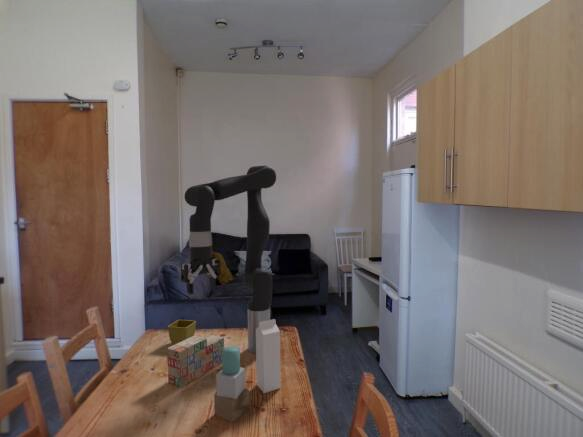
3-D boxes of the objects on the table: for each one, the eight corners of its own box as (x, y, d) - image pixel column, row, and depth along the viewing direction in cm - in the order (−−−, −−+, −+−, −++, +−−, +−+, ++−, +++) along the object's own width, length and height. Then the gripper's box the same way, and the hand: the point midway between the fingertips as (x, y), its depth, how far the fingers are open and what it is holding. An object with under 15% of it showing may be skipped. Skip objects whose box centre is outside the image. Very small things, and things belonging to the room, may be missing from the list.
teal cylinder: (230, 365, 102) (231, 345, 102) (243, 369, 99) (243, 348, 99) (218, 371, 98) (218, 350, 98) (231, 375, 95) (231, 353, 95)
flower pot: (197, 340, 150) (196, 320, 150) (186, 349, 142) (186, 327, 141) (179, 339, 152) (178, 319, 152) (167, 347, 144) (167, 326, 143)
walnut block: (231, 402, 104) (231, 382, 103) (249, 409, 100) (248, 389, 99) (214, 414, 98) (214, 393, 98) (232, 422, 94) (232, 401, 94)
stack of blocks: (212, 357, 134) (212, 326, 133) (224, 361, 130) (224, 329, 130) (167, 383, 115) (166, 347, 115) (180, 388, 112) (179, 351, 111)
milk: (280, 388, 111) (280, 321, 110) (263, 393, 108) (263, 325, 107) (272, 379, 116) (271, 316, 115) (256, 384, 113) (255, 319, 112)
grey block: (227, 384, 102) (227, 365, 102) (245, 387, 101) (245, 368, 100) (216, 395, 97) (216, 374, 96) (235, 399, 95) (235, 378, 95)
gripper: (211, 241, 124) (212, 285, 125) (175, 245, 114) (177, 293, 114) (224, 243, 119) (225, 289, 120) (187, 247, 109) (189, 297, 109)
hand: (201, 291), depth 117 cm, fingers open, 8 cm apart
